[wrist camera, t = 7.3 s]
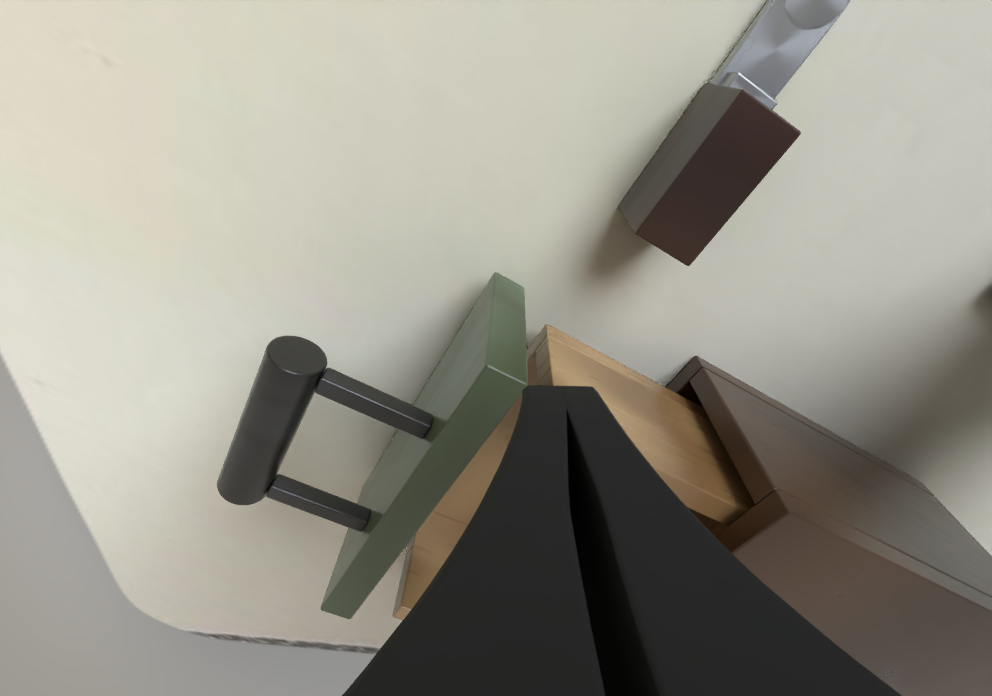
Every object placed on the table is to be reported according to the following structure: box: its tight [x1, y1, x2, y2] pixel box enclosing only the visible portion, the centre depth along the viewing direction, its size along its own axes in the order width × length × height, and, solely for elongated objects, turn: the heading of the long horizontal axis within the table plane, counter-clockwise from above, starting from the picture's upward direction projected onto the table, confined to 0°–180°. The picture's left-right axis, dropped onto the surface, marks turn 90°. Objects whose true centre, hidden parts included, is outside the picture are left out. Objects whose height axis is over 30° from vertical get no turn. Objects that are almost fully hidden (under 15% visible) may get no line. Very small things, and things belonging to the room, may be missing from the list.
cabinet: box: [666, 356, 992, 696], centre depth 20 cm, size 14×14×8 cm
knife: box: [618, 0, 850, 266], centre depth 13 cm, size 8×2×3 cm, turn 150°
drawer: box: [217, 272, 756, 620], centre depth 18 cm, size 18×12×6 cm
